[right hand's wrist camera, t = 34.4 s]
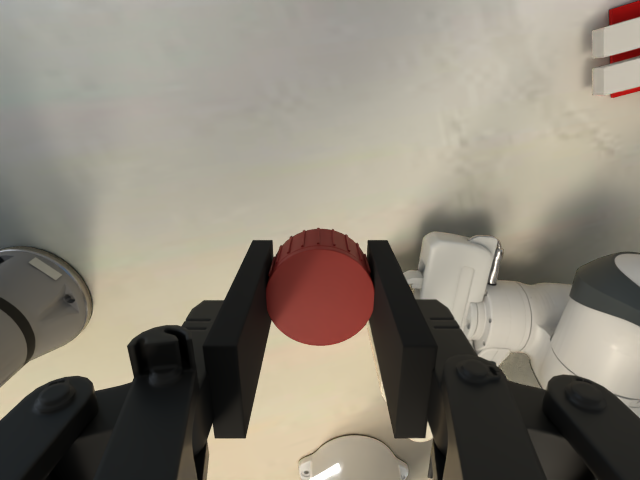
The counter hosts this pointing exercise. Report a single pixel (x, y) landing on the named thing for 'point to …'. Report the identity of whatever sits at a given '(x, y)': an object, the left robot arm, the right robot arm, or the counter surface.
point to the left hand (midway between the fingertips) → (376, 308)
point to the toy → (618, 52)
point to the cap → (320, 288)
